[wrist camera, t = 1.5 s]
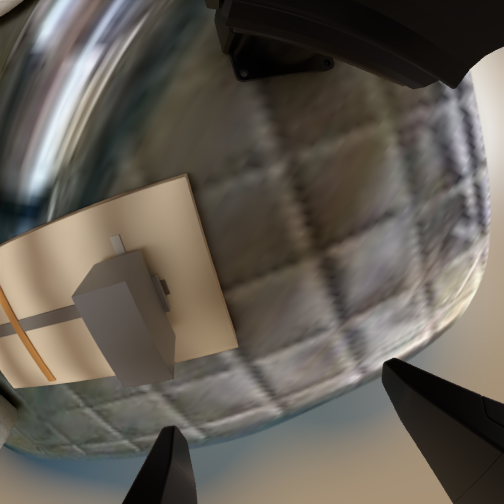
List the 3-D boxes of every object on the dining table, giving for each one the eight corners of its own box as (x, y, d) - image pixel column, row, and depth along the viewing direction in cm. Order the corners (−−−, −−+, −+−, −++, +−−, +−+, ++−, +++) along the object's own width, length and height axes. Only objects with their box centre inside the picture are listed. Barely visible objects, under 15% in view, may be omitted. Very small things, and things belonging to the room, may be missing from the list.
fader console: (187, 173, 18) (185, 176, 16) (234, 331, 22) (238, 348, 20) (-41, 265, 16) (-54, 275, 14) (20, 375, 21) (13, 389, 19)
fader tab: (146, 245, 16) (131, 279, 12) (180, 329, 19) (178, 377, 14) (92, 261, 16) (66, 298, 12) (131, 341, 18) (120, 388, 14)
